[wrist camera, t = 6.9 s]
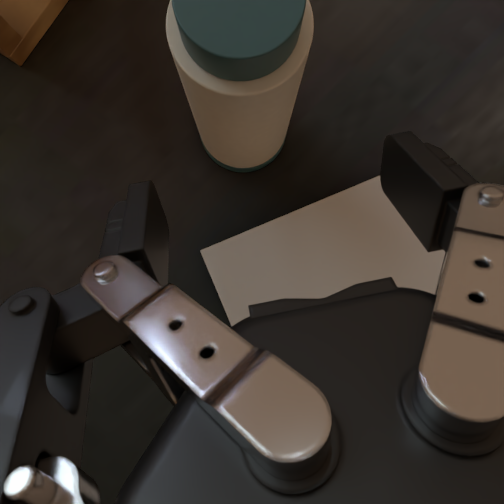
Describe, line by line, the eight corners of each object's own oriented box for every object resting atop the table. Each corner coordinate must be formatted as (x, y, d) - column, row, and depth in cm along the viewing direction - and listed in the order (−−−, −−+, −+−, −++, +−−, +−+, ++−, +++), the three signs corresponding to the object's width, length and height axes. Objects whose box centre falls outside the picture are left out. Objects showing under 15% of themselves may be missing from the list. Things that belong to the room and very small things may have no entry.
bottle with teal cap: (255, 189, 24) (262, 108, 12) (183, 141, 24) (120, 14, 12) (302, 118, 24) (356, -30, 12) (231, 71, 24) (215, -120, 12)
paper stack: (538, 109, 24) (547, 104, 24) (710, 478, 23) (724, 484, 23) (201, 251, 24) (199, 250, 23) (363, 638, 23) (366, 650, 22)
